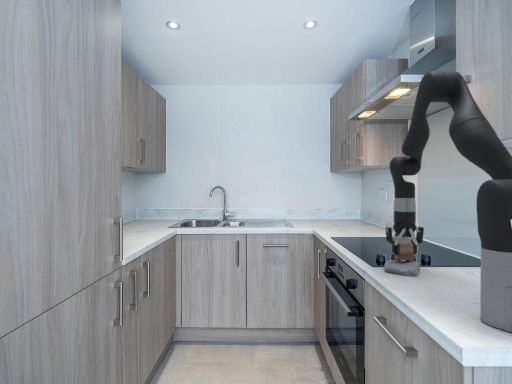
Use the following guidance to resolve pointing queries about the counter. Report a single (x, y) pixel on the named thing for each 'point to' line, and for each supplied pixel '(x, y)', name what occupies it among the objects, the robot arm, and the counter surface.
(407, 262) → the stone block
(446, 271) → the counter surface
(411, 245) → the walnut block
